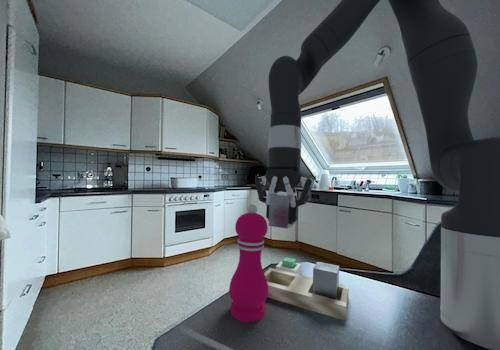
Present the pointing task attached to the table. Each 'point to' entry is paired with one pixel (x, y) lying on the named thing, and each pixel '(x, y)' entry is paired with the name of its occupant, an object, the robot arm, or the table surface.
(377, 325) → the table surface
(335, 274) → the block
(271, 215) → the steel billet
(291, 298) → the wooden tray
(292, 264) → the button
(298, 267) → the button housing
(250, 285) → the pepper mill
